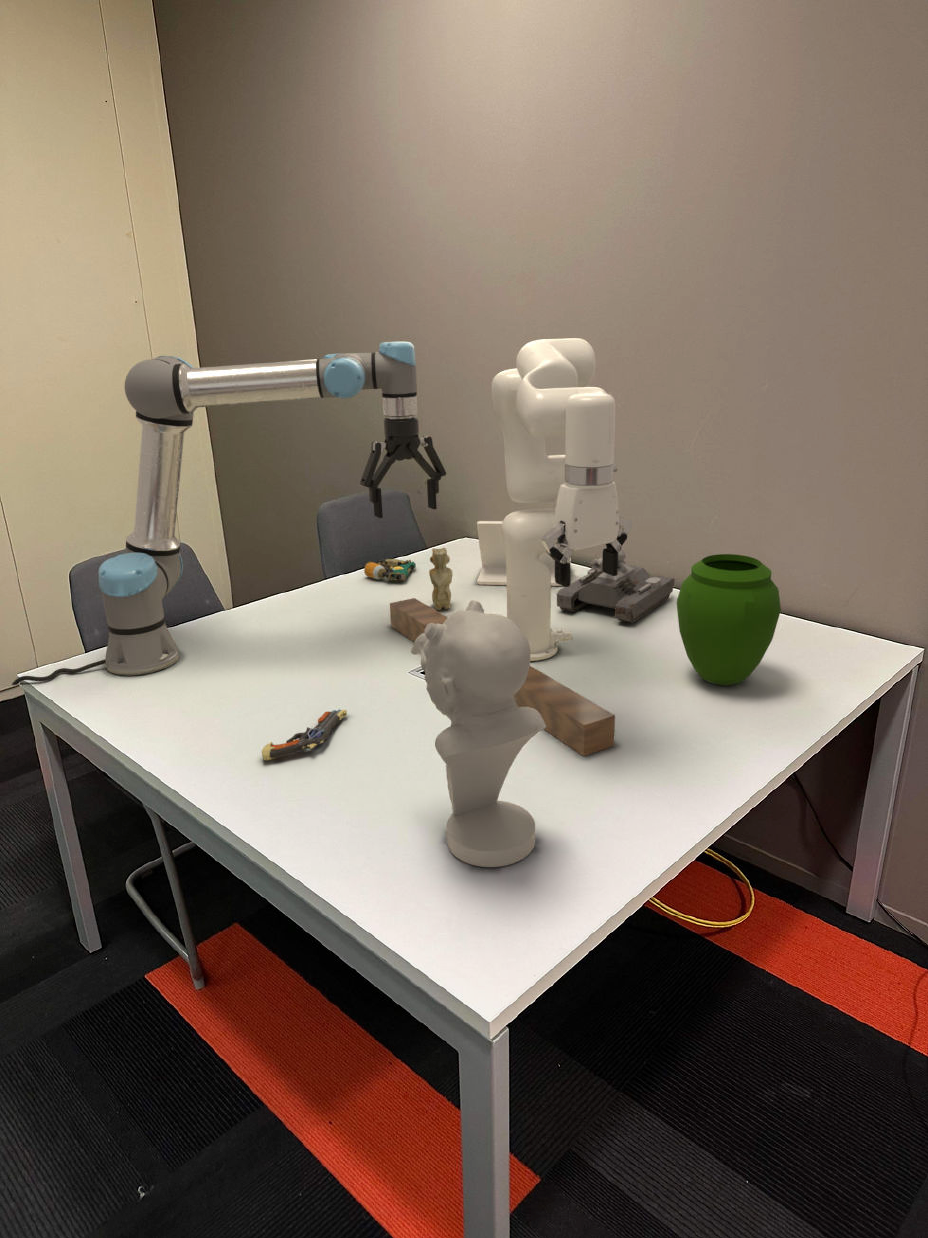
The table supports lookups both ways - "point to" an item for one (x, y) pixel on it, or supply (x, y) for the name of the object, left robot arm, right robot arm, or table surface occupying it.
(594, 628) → the table surface
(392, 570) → the spray gun
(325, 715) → the toy gun
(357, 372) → the left robot arm
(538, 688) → the beam
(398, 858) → the table surface
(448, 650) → the bust sculpture
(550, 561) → the tablet stand
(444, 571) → the sculpture
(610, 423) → the right robot arm
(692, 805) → the table surface
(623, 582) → the toy
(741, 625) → the vase
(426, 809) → the table surface
